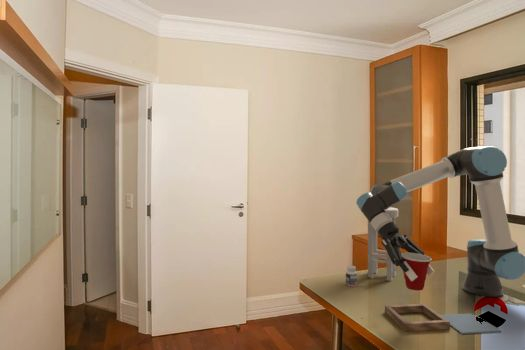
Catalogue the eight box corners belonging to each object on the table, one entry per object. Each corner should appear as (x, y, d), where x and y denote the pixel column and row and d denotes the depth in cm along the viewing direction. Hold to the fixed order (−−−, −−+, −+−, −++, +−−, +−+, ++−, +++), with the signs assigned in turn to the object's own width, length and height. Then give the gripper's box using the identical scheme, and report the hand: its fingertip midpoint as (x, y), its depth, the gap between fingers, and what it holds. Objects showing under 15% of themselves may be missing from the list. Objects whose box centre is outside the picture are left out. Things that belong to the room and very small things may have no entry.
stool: (370, 270, 190) (370, 206, 189) (400, 274, 182) (400, 207, 181) (362, 278, 176) (362, 209, 176) (395, 283, 168) (394, 210, 168)
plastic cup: (435, 294, 121) (435, 259, 120) (402, 292, 123) (402, 258, 123) (427, 283, 131) (427, 252, 131) (397, 282, 134) (397, 251, 133)
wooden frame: (424, 310, 136) (424, 303, 136) (450, 328, 120) (450, 321, 120) (384, 312, 135) (384, 305, 135) (405, 331, 119) (405, 324, 119)
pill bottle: (344, 283, 169) (344, 265, 169) (354, 283, 169) (354, 264, 169) (348, 287, 164) (347, 268, 163) (358, 286, 164) (358, 267, 164)
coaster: (472, 314, 131) (472, 313, 131) (501, 331, 118) (501, 330, 117) (437, 316, 130) (437, 315, 130) (461, 334, 116) (461, 332, 116)
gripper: (396, 229, 146) (433, 275, 133) (360, 236, 133) (397, 288, 120) (407, 218, 142) (447, 264, 129) (372, 223, 128) (411, 276, 116)
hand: (423, 276), depth 125 cm, fingers closed on plastic cup, 10 cm apart
